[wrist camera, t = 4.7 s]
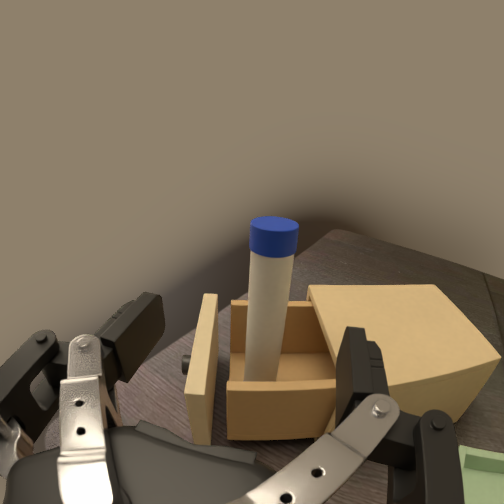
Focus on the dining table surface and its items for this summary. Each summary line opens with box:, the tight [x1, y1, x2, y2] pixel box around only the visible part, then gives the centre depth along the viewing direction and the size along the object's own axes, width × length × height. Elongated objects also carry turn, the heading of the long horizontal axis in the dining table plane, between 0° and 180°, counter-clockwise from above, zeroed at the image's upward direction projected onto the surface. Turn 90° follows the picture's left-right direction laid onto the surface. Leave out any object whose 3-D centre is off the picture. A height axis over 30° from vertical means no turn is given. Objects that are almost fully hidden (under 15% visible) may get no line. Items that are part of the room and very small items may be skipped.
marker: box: [244, 216, 299, 382], centre depth 20 cm, size 3×3×14 cm
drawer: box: [182, 294, 336, 445], centre depth 21 cm, size 15×11×7 cm
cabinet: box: [306, 285, 501, 441], centre depth 22 cm, size 14×12×8 cm
